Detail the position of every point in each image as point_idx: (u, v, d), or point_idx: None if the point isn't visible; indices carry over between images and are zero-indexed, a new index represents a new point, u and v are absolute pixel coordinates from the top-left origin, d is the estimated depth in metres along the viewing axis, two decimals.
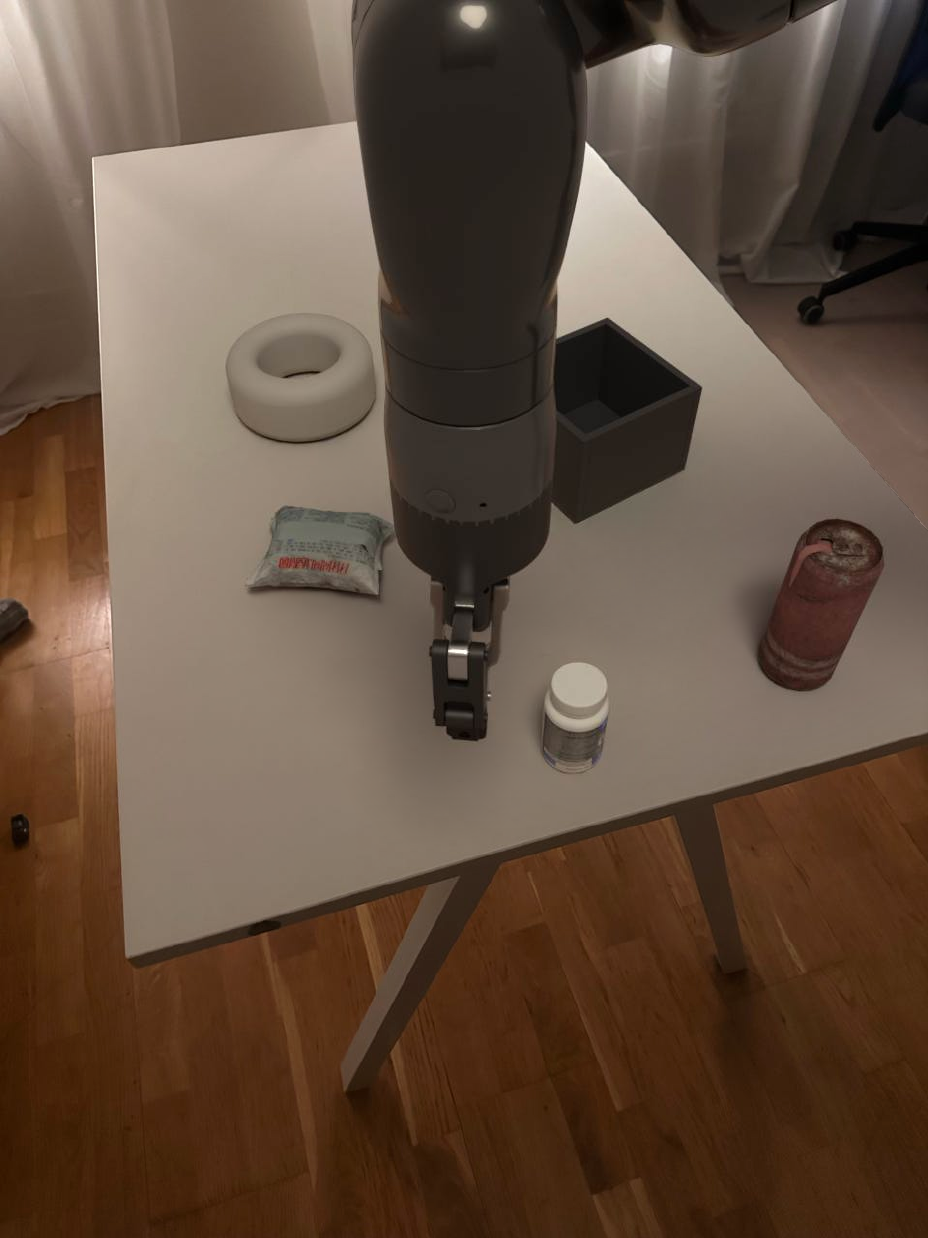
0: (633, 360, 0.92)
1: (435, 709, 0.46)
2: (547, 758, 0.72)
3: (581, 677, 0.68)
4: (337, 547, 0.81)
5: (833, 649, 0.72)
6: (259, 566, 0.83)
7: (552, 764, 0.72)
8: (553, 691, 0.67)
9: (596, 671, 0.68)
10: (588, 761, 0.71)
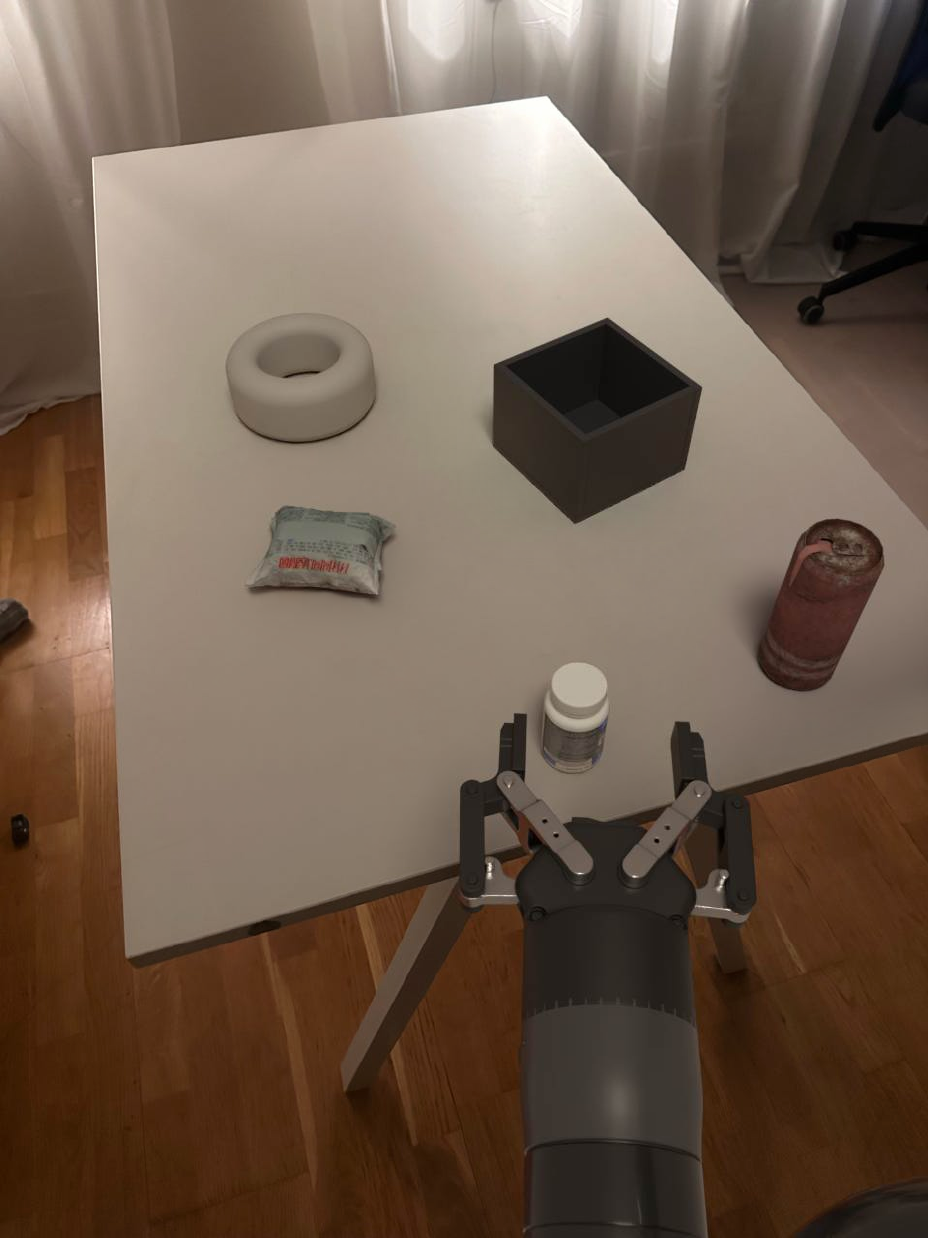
0: (633, 360, 0.92)
1: None
2: (547, 758, 0.72)
3: (581, 677, 0.68)
4: (337, 547, 0.81)
5: (833, 649, 0.72)
6: (259, 566, 0.83)
7: (552, 764, 0.72)
8: (553, 691, 0.67)
9: (596, 671, 0.68)
10: (588, 761, 0.71)
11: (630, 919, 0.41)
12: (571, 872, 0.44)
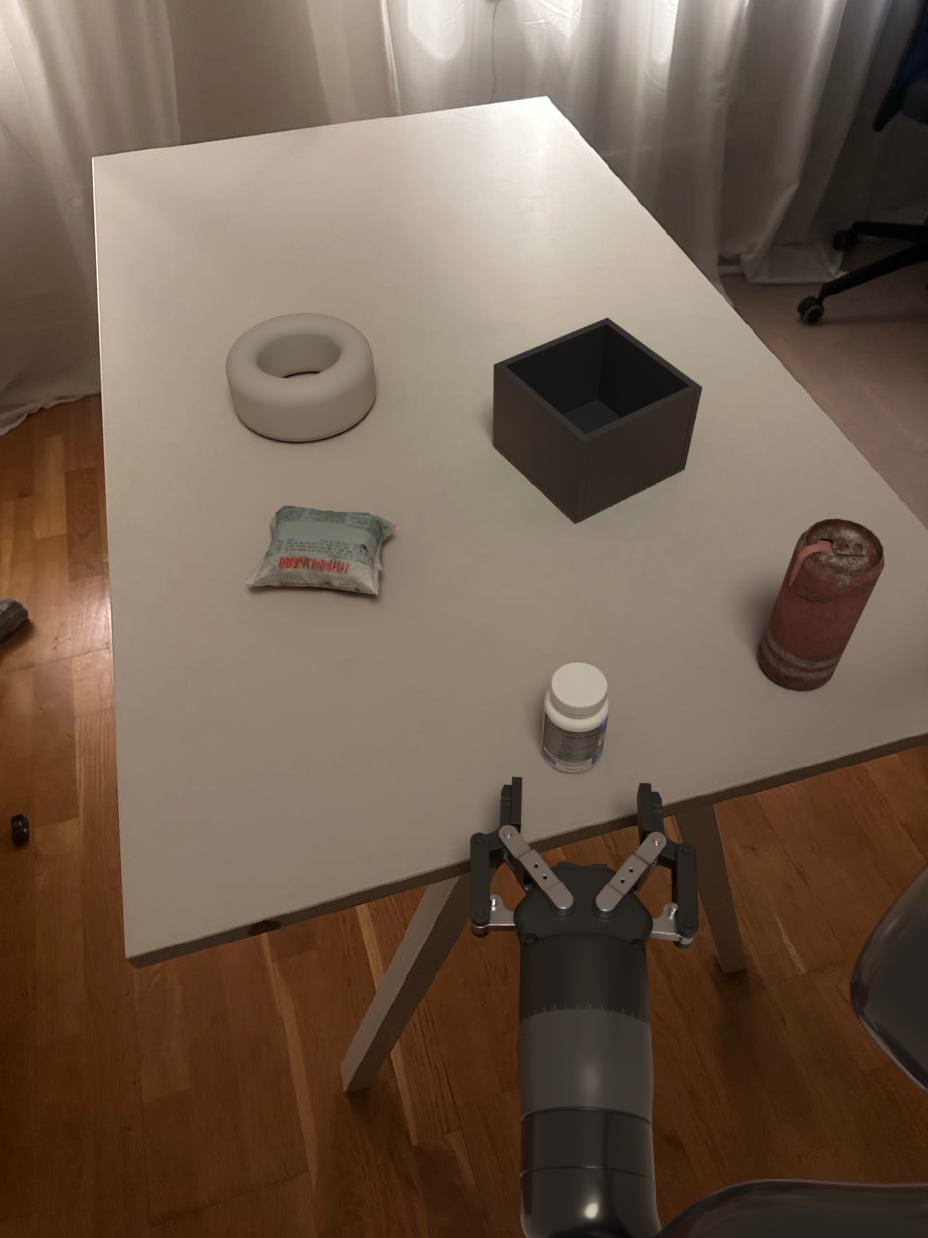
0: (633, 360, 0.92)
1: None
2: (547, 758, 0.72)
3: (581, 677, 0.68)
4: (337, 546, 0.81)
5: (833, 649, 0.72)
6: (259, 566, 0.83)
7: (552, 764, 0.72)
8: (553, 691, 0.67)
9: (596, 671, 0.68)
10: (588, 761, 0.71)
11: (600, 944, 0.54)
12: (556, 907, 0.57)
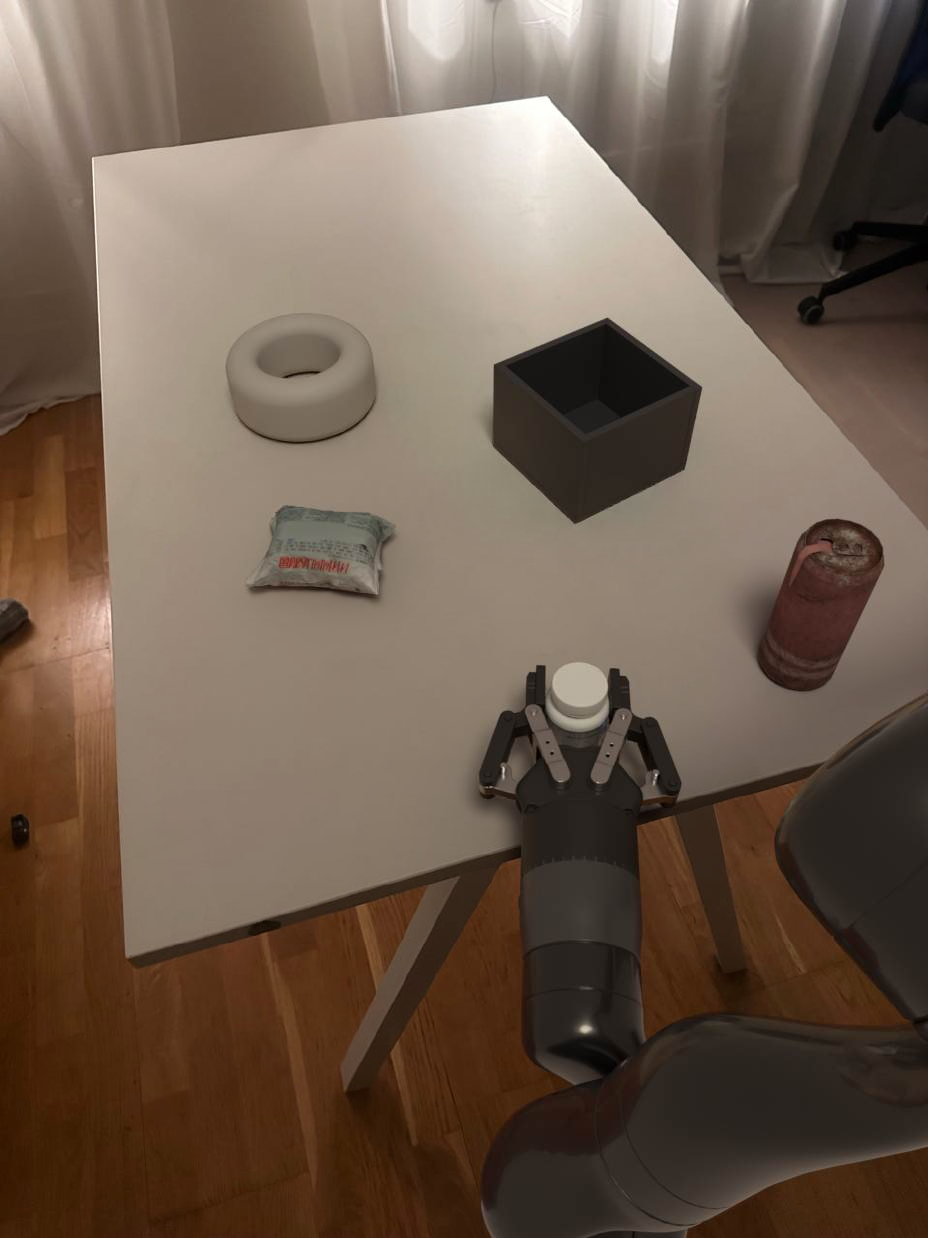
0: (633, 360, 0.92)
1: None
2: None
3: (582, 677, 0.68)
4: (337, 546, 0.81)
5: (833, 649, 0.72)
6: (259, 566, 0.83)
7: None
8: (554, 691, 0.67)
9: (597, 671, 0.68)
10: None
11: (594, 807, 0.60)
12: (553, 778, 0.63)
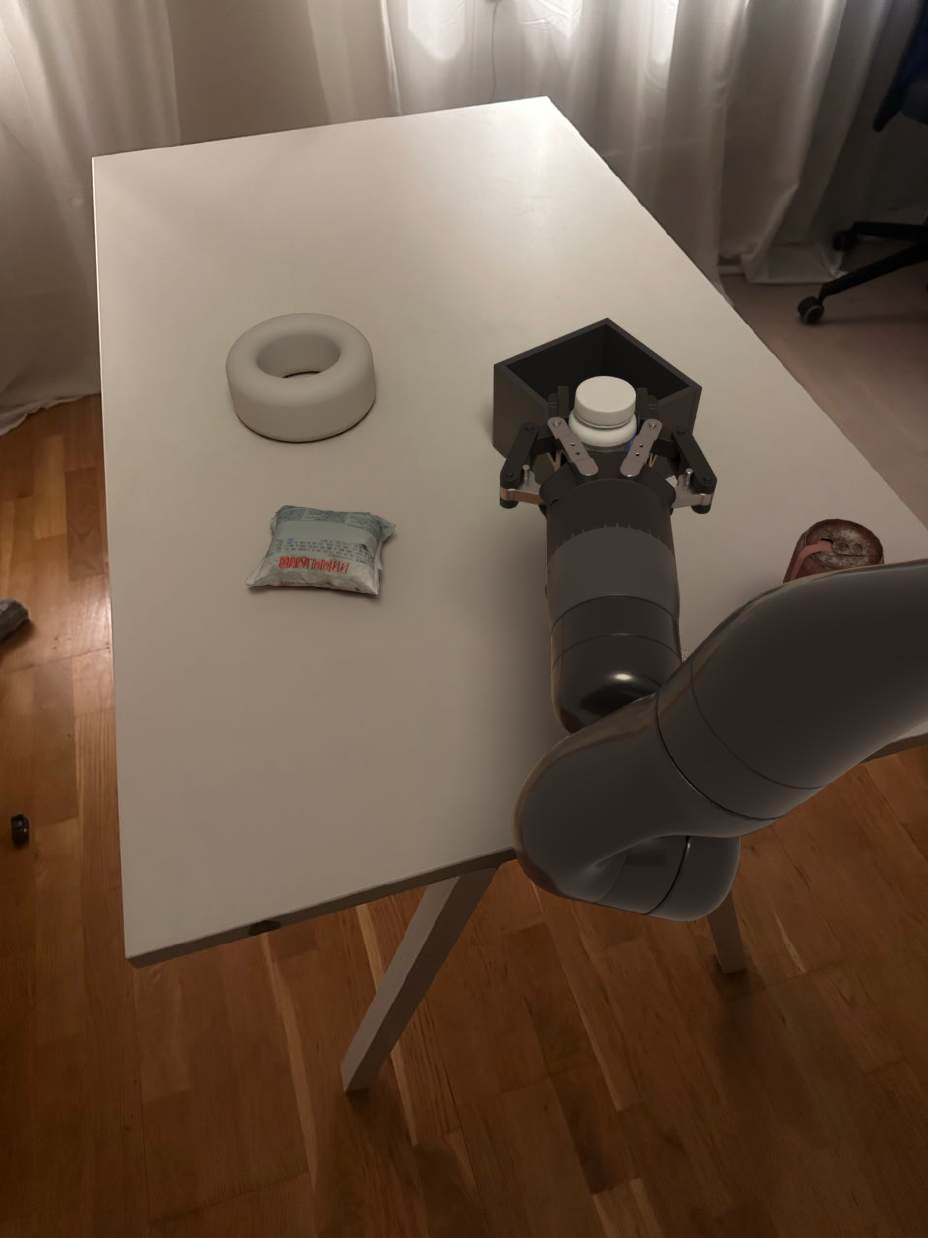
0: (633, 360, 0.92)
1: None
2: None
3: (608, 388, 0.63)
4: (337, 546, 0.81)
5: None
6: (259, 565, 0.83)
7: None
8: (578, 399, 0.63)
9: (623, 383, 0.64)
10: None
11: (626, 484, 0.55)
12: (579, 473, 0.59)
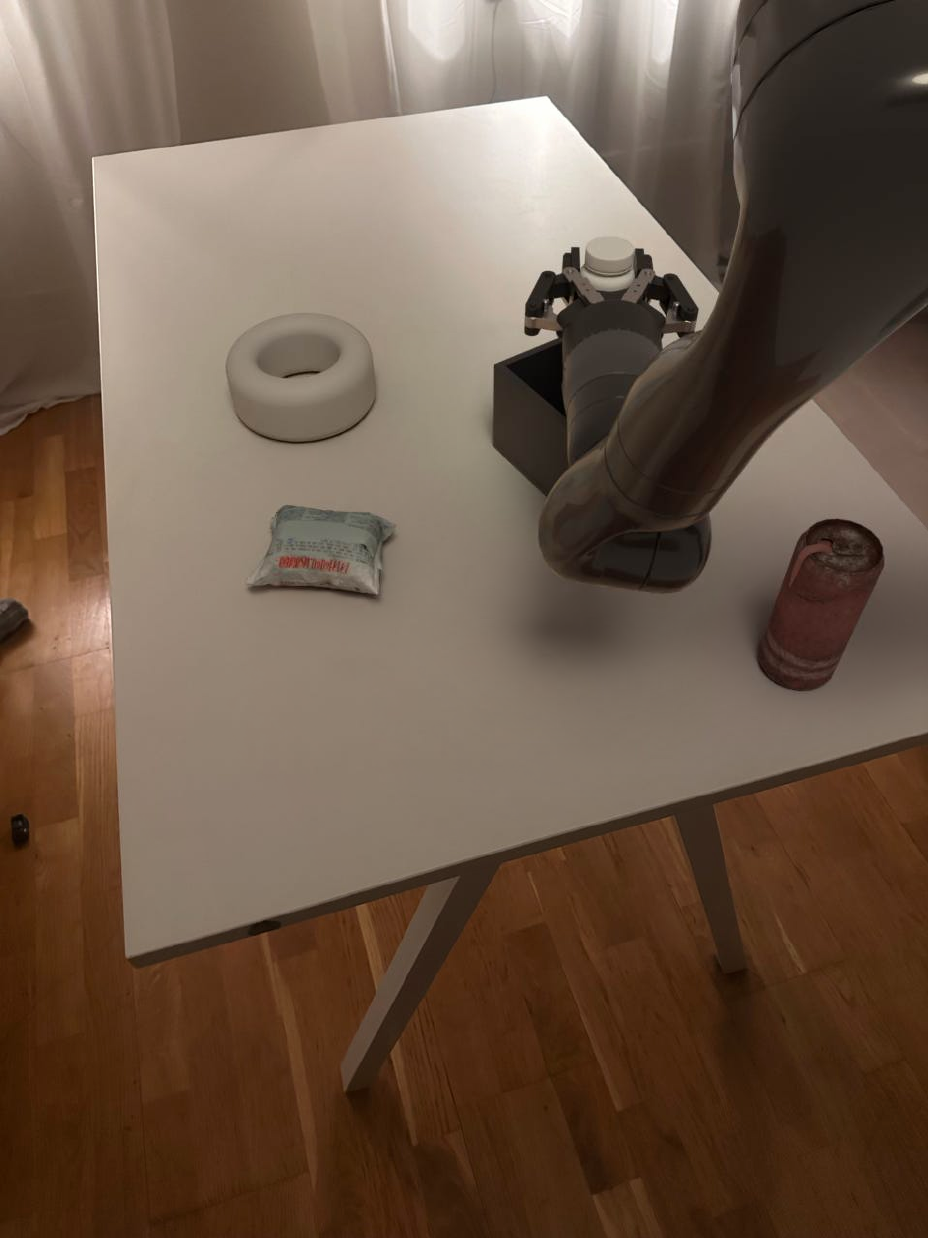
0: None
1: None
2: None
3: (612, 243, 0.78)
4: (337, 546, 0.81)
5: (833, 649, 0.72)
6: (259, 565, 0.83)
7: None
8: (588, 251, 0.78)
9: (624, 240, 0.79)
10: None
11: (626, 302, 0.70)
12: (589, 302, 0.74)
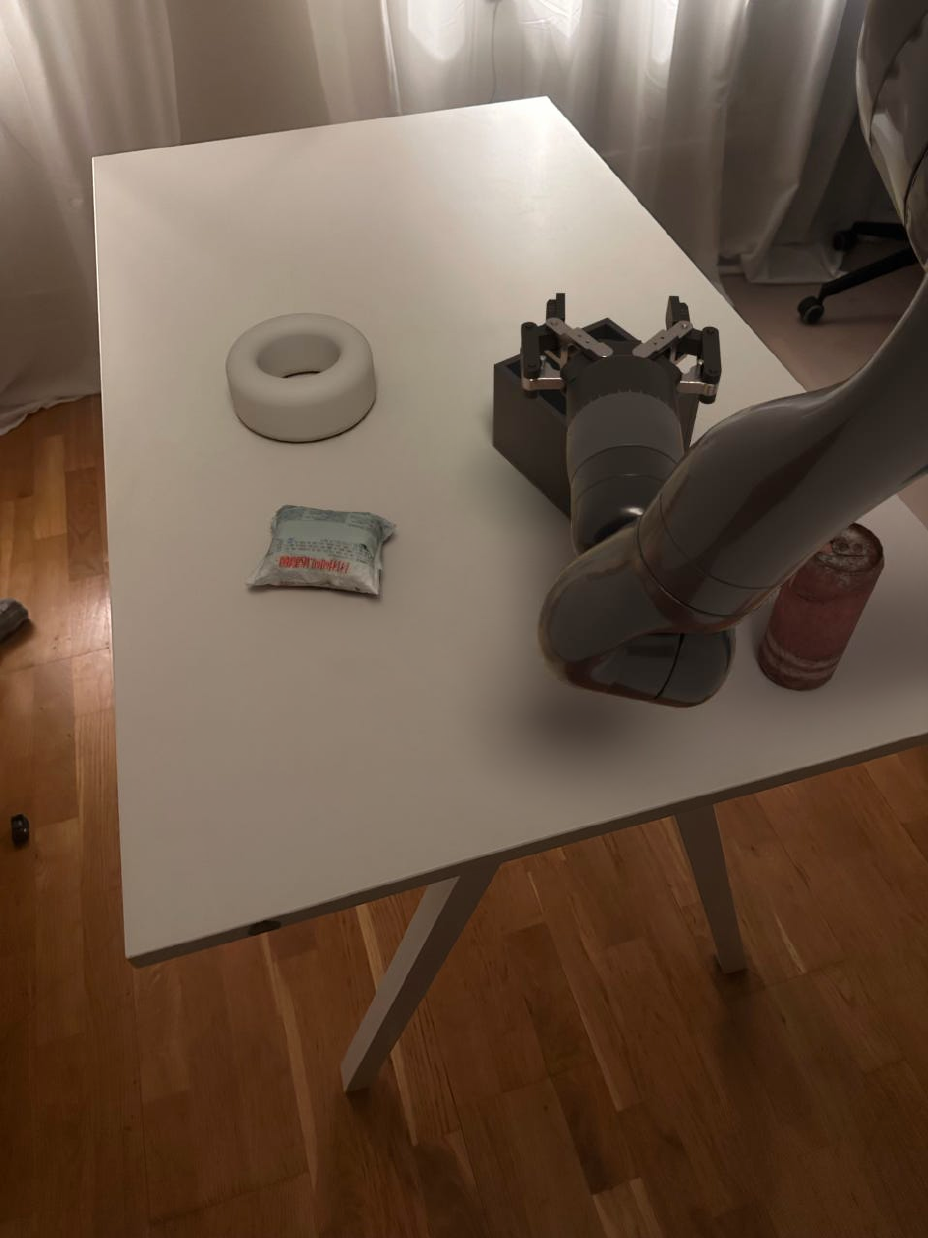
0: None
1: None
2: None
3: None
4: (337, 546, 0.81)
5: (833, 649, 0.72)
6: (259, 565, 0.83)
7: None
8: None
9: None
10: None
11: (637, 359, 0.63)
12: (598, 356, 0.66)
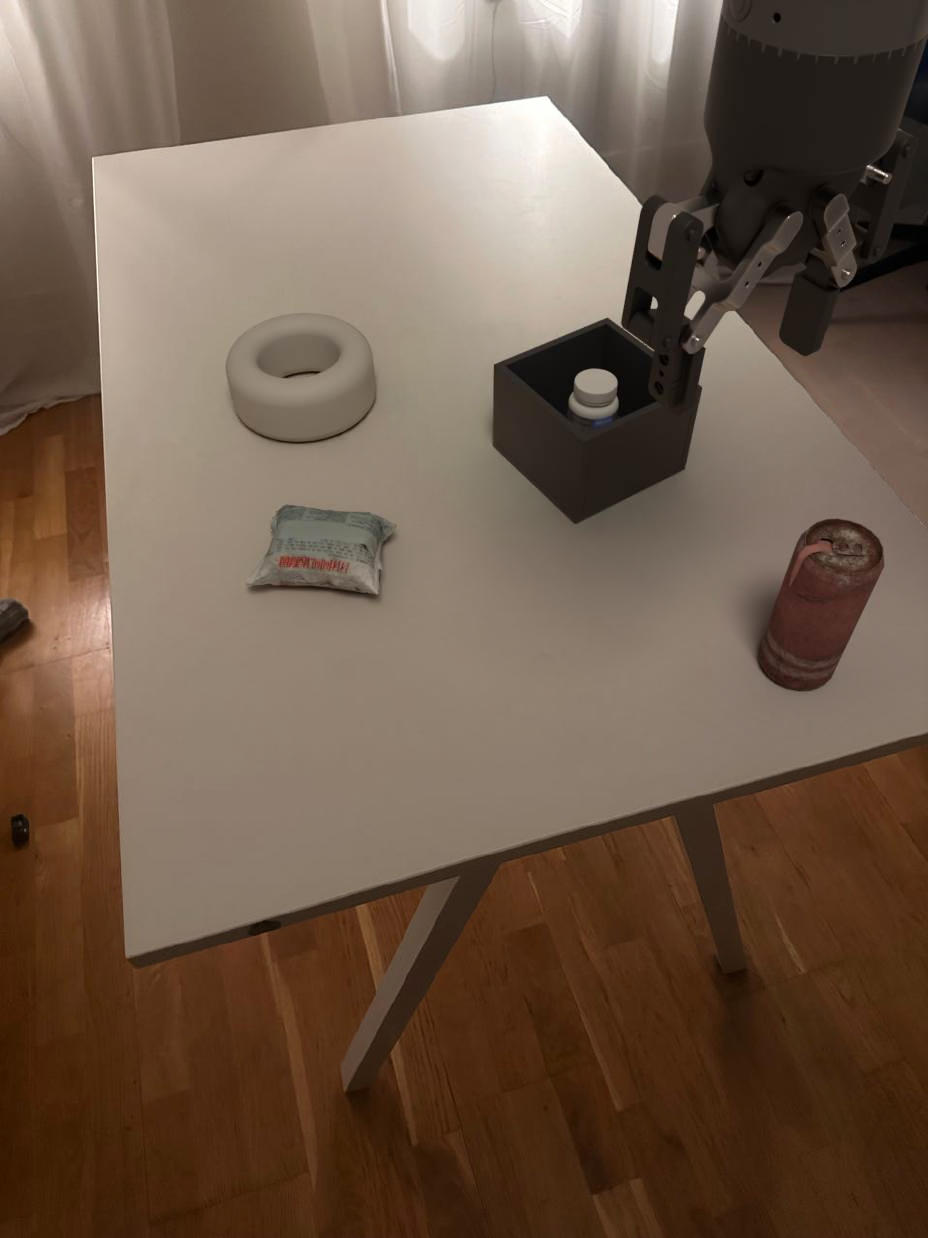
0: (633, 360, 0.92)
1: (626, 296, 0.41)
2: None
3: (601, 379, 0.88)
4: (337, 546, 0.81)
5: (833, 649, 0.72)
6: (260, 565, 0.83)
7: None
8: (577, 375, 0.89)
9: (614, 382, 0.88)
10: None
11: (859, 156, 0.36)
12: (842, 194, 0.40)
